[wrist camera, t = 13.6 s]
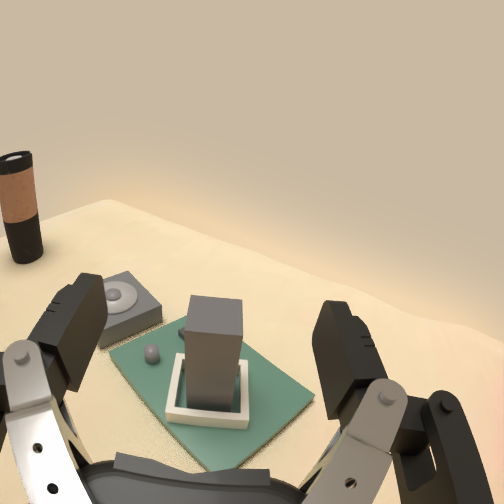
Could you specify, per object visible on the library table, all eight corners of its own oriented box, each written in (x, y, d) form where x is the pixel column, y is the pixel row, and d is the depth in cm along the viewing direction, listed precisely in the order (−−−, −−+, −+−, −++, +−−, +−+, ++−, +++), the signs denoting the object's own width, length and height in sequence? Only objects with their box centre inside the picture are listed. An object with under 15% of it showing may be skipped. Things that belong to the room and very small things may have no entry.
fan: (74, 307, 40) (69, 286, 38) (129, 286, 47) (127, 266, 45) (100, 349, 35) (94, 328, 33) (162, 321, 41) (161, 300, 40)
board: (110, 357, 34) (105, 340, 32) (201, 314, 44) (202, 297, 42) (218, 481, 23) (219, 472, 21) (312, 400, 33) (320, 384, 31)
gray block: (186, 410, 28) (184, 330, 23) (190, 376, 33) (191, 293, 27) (230, 414, 29) (243, 335, 23) (230, 379, 33) (242, 298, 27)
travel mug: (5, 262, 45) (-13, 162, 36) (23, 244, 52) (11, 151, 42) (33, 266, 46) (16, 160, 37) (50, 246, 53) (39, 149, 43)
